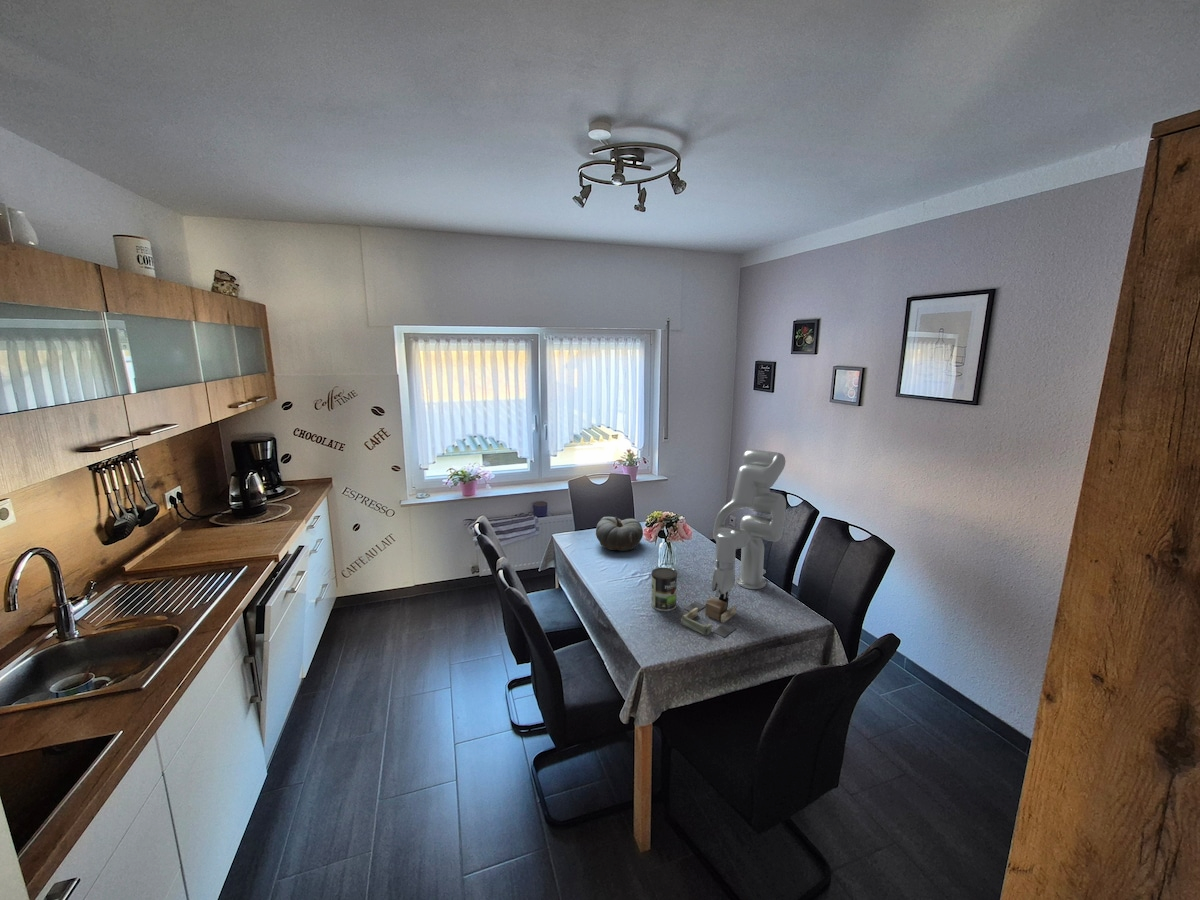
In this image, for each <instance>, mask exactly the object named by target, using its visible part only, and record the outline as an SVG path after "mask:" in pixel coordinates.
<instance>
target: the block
mask: <svg viewBox="0 0 1200 900" xmlns="http://www.w3.org/2000/svg"><path fill="white" fill-rule="evenodd" d="M712 597H713V596H712ZM705 605H706V607H704V610H705V611H704V612H705V613H704V614H705V615H706V616H707V617H709V618H712V619H715V620H717V621H721V615H722V614H723V613H725V612H726V611H727V609H728V607H727V602H724V601H722V600H719V598H717V597H713V598H712V599H711V600H709V601H708V602H707V601H706V602H705Z"/></svg>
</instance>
